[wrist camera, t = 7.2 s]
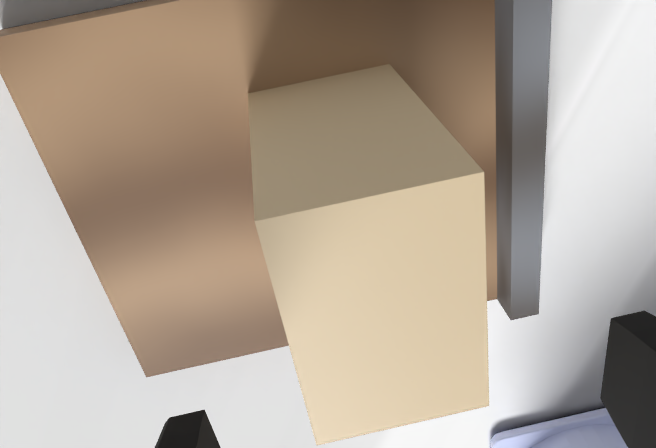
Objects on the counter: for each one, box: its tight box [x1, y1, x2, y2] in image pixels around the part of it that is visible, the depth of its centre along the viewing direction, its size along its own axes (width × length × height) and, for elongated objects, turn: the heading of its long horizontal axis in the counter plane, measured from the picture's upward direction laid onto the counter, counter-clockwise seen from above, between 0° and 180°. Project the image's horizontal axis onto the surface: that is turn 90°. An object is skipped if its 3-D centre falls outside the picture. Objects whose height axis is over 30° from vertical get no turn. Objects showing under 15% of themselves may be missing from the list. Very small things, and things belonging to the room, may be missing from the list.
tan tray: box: [0, 0, 552, 377], centre depth 17 cm, size 12×14×2 cm
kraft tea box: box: [248, 64, 489, 445], centre depth 14 cm, size 4×6×7 cm, turn 10°
